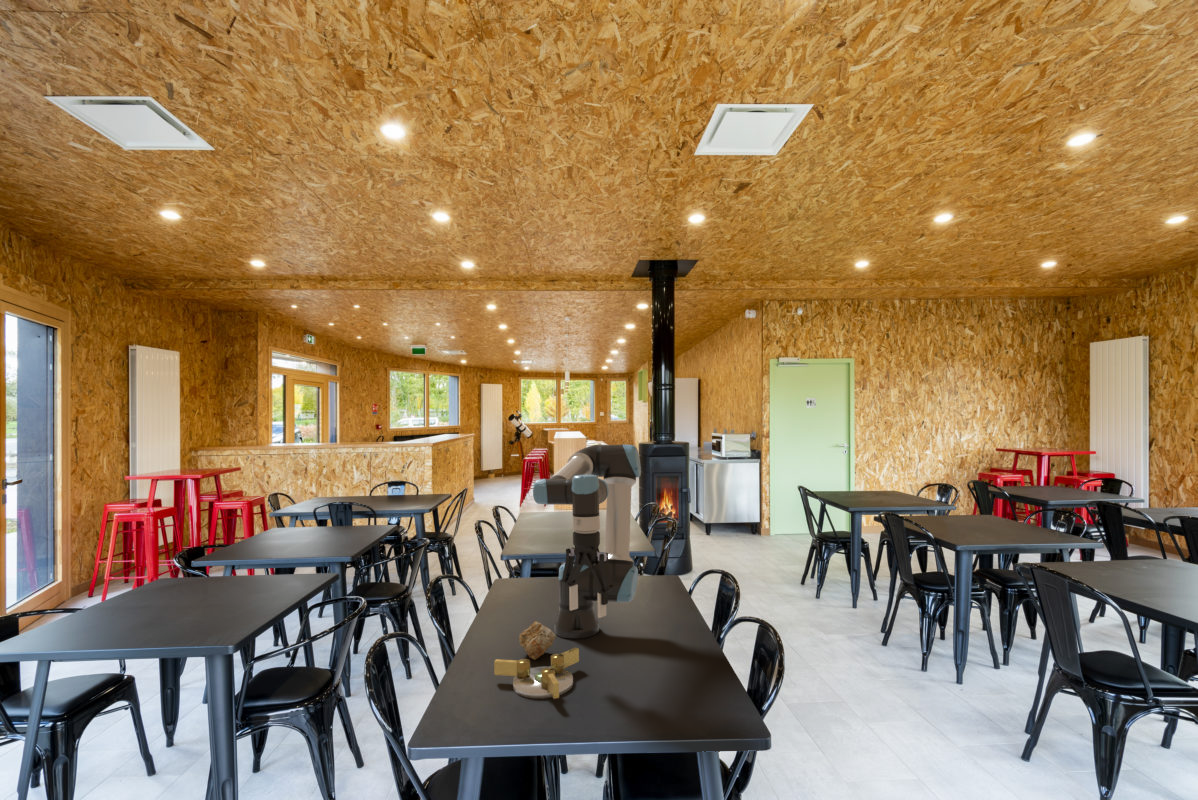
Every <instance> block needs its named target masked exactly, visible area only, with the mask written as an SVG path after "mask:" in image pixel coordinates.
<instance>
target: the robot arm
mask: <svg viewBox="0 0 1198 800" xmlns="http://www.w3.org/2000/svg"><path fill="white" fill-rule="evenodd" d="M641 474H642V467H641V458H640V454H639V450H638V448H637V447H636V446H635V445H634V444H625V443H623V444H594V445H588V446H586V447H584V448H582V449H580V450H577V451H576V452H574V453H573V454H571V455H570V456H569V458H568V459H567V462H566V464H564V465H563V466H562V467H561V468H560V469H559V470H557V471H556V472H555V473H553V475H552V476H551V477H550V478H539V479H537V480H535V482H534V483H533V488H532V495H533V496H532V497H533V501H534V502H535V503H536V504H537V505H545V506H548V505H556V506H559V505H567V506H568V505H572V530H573V533H572V544H573V546H574V547H568V548H566V549H565V562H564V563H563V564H561V565H560V566H559V568H558V577H557V579H558V601H559V602H558V603H559V604H558V605H559V606H558V611H557V615H556V620H555V622H554V624H553V625H554V627H553V628H554V630H553V633H554V634H555V635H556V636H558V637H560V638H564V639H574V640H575V639H584V638H585V639H586V638H589V637H593V636H594V635H597V634H598V633H599V632H600V625H599V621H598V620H597V618H599V619H601V618H603V617H605V616H606V617H607V604H608V603H618V604H620V603H630V602H632V601H633V599H634V598H635V594H636V591H637V587H638V583H639V569H638V567H637V566H635V565H634V560H633V559H632V558H631V556H630V541H631V540H630V539H631V538H630V536H631V515H632V514H631V511H632V510H631V509H632V487H633V486H634V485H635V484H636V483H637V478H639V477H641ZM602 478H603V479H602ZM605 501H606V507H605V508H606V509H605V510H606V511H605V529H604V530H605V531H604V532H605V533H604V547H603V548H604V549H603V550H604V551H603V552H600V548H599V546H600V544H601V533H600V531H599V530H600V528H601V526H600V518H601V517H600V504H602V503H604V502H605ZM594 602H597V614H596V611H595V608H594ZM596 615H597V616H596Z"/></svg>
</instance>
